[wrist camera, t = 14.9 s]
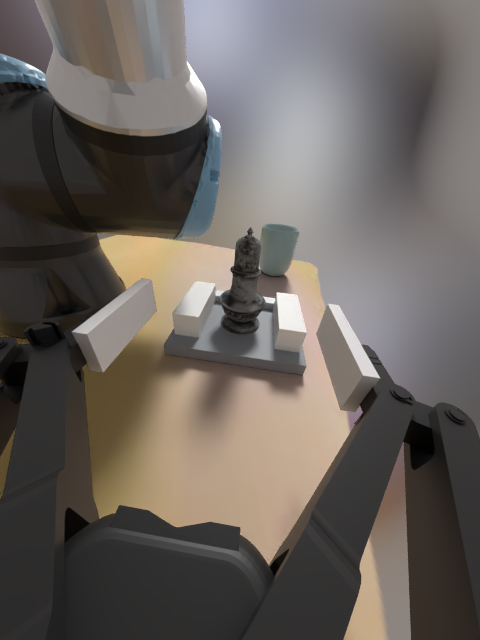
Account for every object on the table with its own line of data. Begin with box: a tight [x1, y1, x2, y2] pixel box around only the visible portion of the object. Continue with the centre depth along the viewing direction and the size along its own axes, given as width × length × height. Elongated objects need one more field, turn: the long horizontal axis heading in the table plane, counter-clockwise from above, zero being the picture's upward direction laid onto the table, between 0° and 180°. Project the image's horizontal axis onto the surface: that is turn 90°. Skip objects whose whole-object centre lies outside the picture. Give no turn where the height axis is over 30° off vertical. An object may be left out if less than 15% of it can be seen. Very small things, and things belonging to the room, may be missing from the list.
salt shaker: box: [219, 228, 266, 334], centre depth 24 cm, size 6×6×12 cm
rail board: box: [164, 281, 307, 375], centre depth 28 cm, size 16×13×4 cm
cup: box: [259, 224, 299, 276], centre depth 46 cm, size 8×8×10 cm
